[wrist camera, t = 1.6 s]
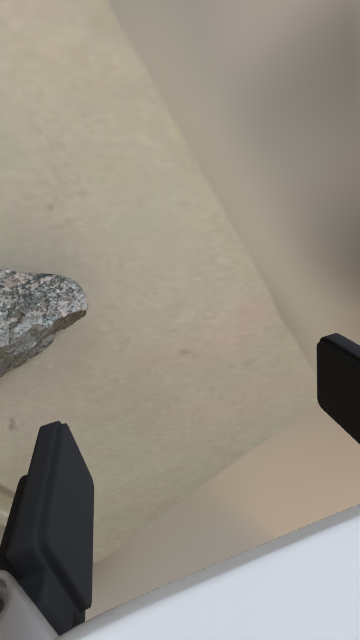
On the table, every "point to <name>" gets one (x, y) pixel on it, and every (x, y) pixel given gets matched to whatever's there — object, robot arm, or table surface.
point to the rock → (34, 313)
